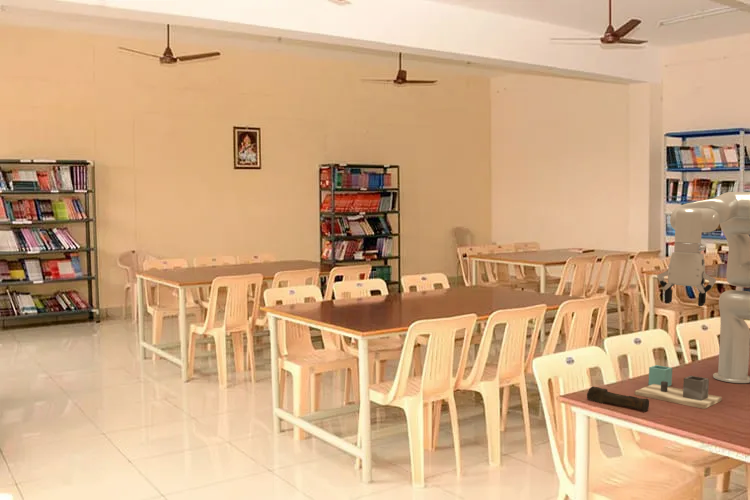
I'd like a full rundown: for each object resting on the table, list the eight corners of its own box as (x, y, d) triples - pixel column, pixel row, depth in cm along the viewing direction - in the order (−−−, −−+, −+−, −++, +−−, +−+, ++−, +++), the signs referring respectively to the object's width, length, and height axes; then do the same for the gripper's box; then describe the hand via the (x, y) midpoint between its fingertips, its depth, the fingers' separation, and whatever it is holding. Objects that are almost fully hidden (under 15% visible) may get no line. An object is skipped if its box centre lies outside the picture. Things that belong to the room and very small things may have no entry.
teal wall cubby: (655, 382, 259) (656, 364, 259) (671, 385, 255) (672, 367, 255) (648, 384, 255) (649, 367, 255) (664, 387, 251) (665, 370, 251)
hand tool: (650, 410, 224) (650, 395, 224) (644, 413, 221) (645, 398, 221) (591, 398, 237) (591, 384, 236) (585, 401, 234) (585, 386, 233)
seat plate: (653, 387, 252) (654, 366, 251) (721, 400, 236) (722, 378, 236) (634, 394, 242) (635, 372, 241) (704, 408, 226) (705, 385, 226)
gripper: (720, 250, 228) (717, 306, 229) (663, 246, 239) (660, 300, 240) (713, 251, 222) (710, 308, 223) (654, 247, 233) (652, 302, 235)
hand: (684, 304), depth 232 cm, fingers open, 9 cm apart
